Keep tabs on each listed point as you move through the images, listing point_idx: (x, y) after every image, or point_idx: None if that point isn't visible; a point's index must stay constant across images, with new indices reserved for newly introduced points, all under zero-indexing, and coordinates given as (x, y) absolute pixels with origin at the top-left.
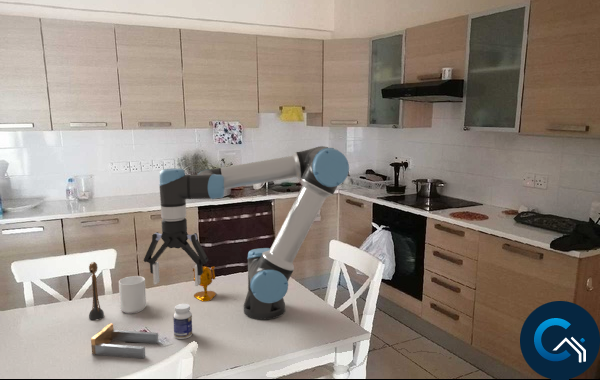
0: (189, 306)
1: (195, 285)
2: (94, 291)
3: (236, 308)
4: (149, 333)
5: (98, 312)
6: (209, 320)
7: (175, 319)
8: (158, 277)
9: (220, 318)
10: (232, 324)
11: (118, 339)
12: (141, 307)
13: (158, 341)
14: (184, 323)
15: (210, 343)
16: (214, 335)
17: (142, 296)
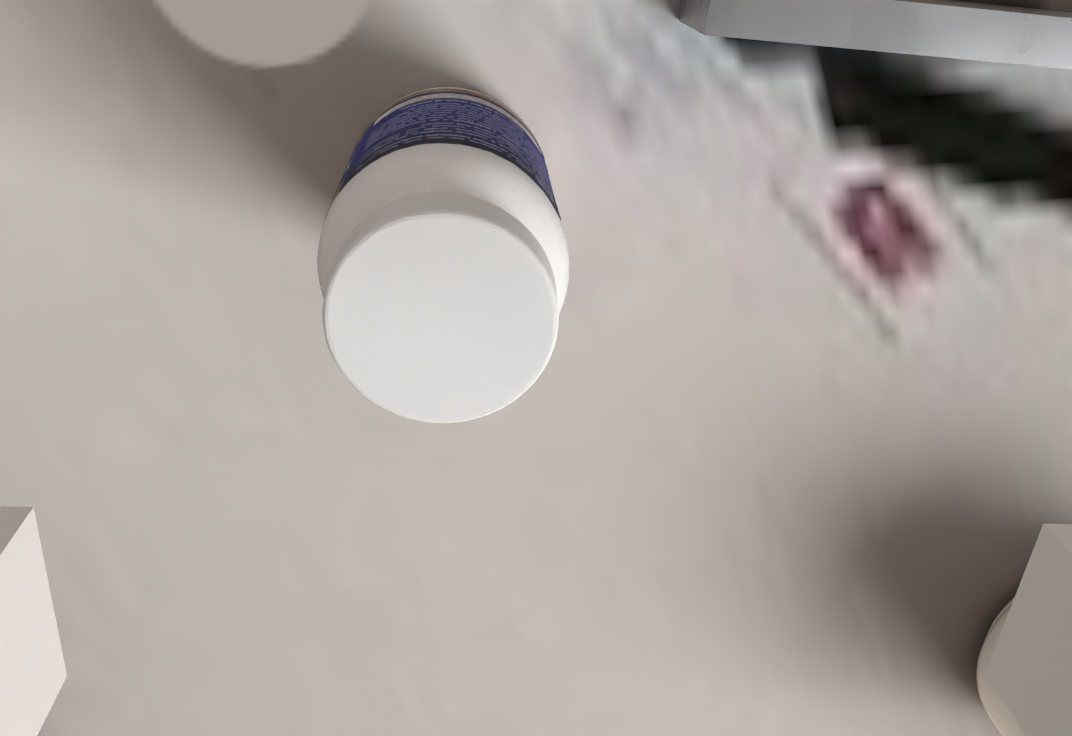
0: (325, 330)
1: (19, 516)
2: None
3: (124, 732)
4: (807, 8)
5: None
6: (291, 506)
7: (512, 159)
8: (1062, 727)
9: (196, 551)
10: (15, 449)
11: None
12: None
13: (680, 18)
14: (382, 140)
15: (62, 17)
16: (101, 208)
17: None
